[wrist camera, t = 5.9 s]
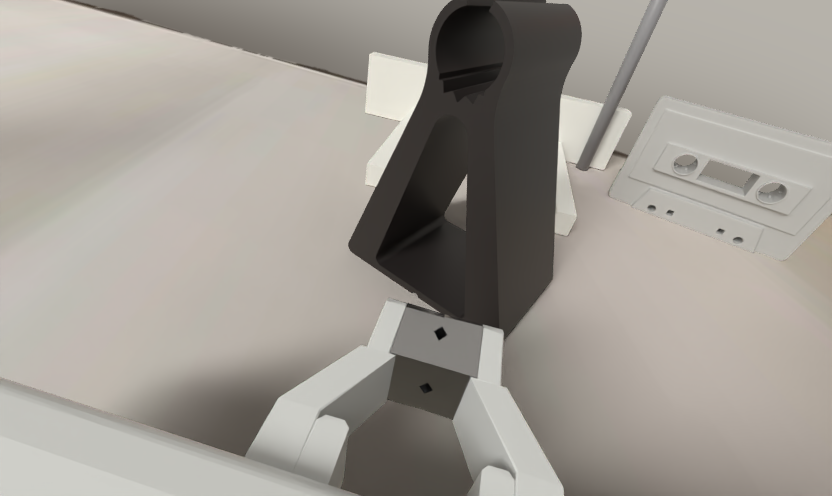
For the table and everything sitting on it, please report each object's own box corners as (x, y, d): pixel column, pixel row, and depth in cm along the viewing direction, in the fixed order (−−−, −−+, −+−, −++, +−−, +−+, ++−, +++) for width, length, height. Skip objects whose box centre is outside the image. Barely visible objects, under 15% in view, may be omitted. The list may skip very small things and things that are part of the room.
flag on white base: (635, 172, 35) (808, -137, 22) (685, 266, 24) (1073, -233, 12) (369, 109, 37) (394, -206, 24) (304, 168, 26) (292, -343, 14)
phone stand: (347, 249, 20) (364, -33, 13) (418, 209, 24) (462, -21, 17) (495, 351, 16) (641, 37, 9) (550, 285, 20) (680, 30, 13)
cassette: (605, 198, 30) (659, 97, 25) (608, 190, 31) (660, 92, 26) (785, 267, 26) (889, 162, 21) (780, 253, 27) (877, 152, 22)
